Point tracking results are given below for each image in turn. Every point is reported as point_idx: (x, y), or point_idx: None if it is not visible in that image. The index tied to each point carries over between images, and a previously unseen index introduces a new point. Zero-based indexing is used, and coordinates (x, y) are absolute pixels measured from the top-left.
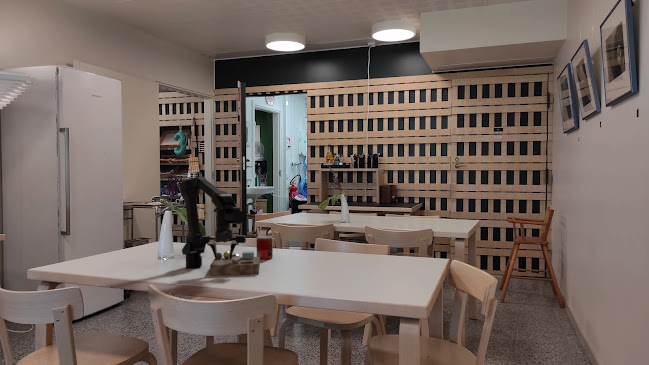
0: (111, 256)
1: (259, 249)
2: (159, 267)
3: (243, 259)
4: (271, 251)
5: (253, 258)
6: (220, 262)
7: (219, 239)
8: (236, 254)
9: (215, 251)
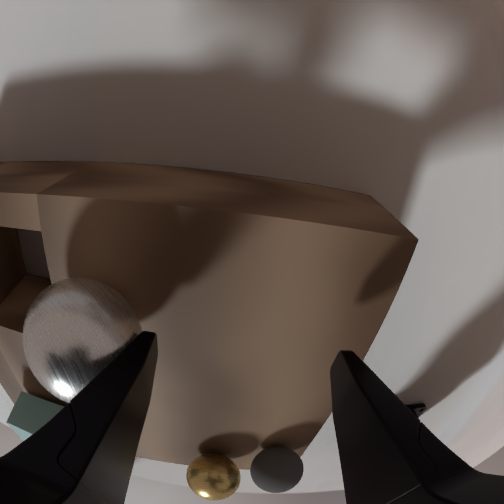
0: (469, 465)
1: None
2: (473, 411)
3: None
4: None
5: (22, 391)
6: (276, 365)
7: None
8: (39, 364)
9: (399, 439)
